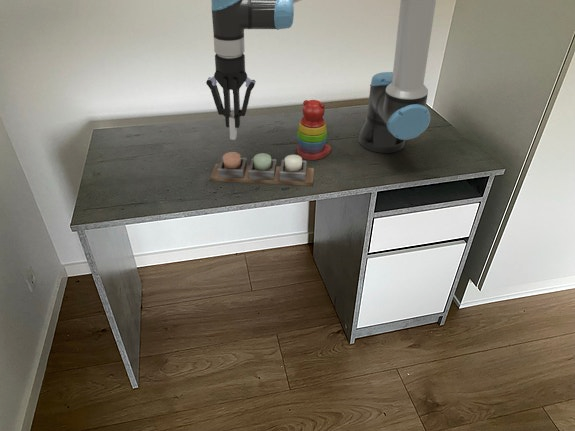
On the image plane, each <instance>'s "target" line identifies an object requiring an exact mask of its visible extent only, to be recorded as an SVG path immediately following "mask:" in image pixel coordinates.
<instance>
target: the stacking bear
mask: <svg viewBox="0 0 575 431" xmlns="http://www.w3.org/2000/svg"><path fill="white" fill-rule="evenodd" d="M302 102H303V103H302V104H303V107H302V114H303V116H302V118H301V119H300V121H299V123H298V124H299V125H298V128H297V131H296V133H297V135H296V136H297V137H296V139H297V147H296V153H297V155H298V156H300V157H301V158H302V159H304V160H306V161H307V160H308V161H315V160H320V159H323V158H325V157H327V156H328V155H329V154H330V153H331V152H332V146H330V145H329V144H328V143H327V139H328V129H327V124H326V120H325V119H324V115H325V110H326V109H325V103H323V102H321V101H320V100H317V99H310V100H307V99H305V100H303V101H302ZM326 143H327V144H326Z"/></svg>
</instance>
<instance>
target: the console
mask: <svg viewBox="0 0 575 431" xmlns="http://www.w3.org/2000/svg"><path fill="white" fill-rule="evenodd" d="M240 158H241V166H240V167H239V168H238V169H226V168H225V167H224V161H223V156H222V157H221V160H220V162H219V163H215V164H214V167H213V169H212V171H211V175H210V181H213V182H228V183H229V182H230V183H231V182H232V183H233V182H234V183H250V184H251V183H252V184H253V183H254V184H270V185H275V184H276V185H293V186H310V187H311V186H314V176H315V175H314V174H315V167H307V160H302V169H301V171H299V172H288V171H286V170H285V159H281V162H280V166H279V165H277V159H276V158H274V159H273V158H271V168H270V169H269V170H267V171H259V170H256V169H255V168H254V157H253V158H251V160H250V164H248V159H247V157H240Z"/></svg>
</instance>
